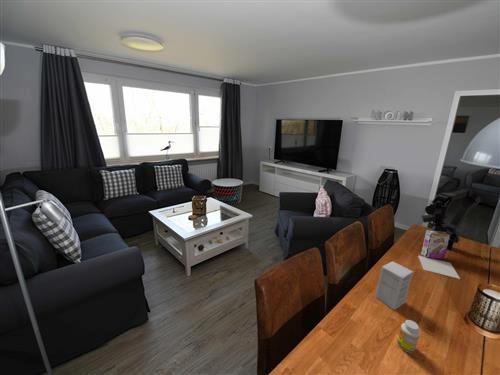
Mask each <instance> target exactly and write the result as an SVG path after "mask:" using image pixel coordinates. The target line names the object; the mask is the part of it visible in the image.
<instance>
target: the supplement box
mask: <svg viewBox="0 0 500 375" xmlns="http://www.w3.org/2000/svg"><path fill="white" fill-rule="evenodd" d="M413 275H414V271H413V270H410V269H408V268H407V267H405V266H403V265H401V264H399V263H397V262H395V261H390V262H388V263H386V264H384V265H383V266H382V265H381V269H380V273H379V276H378V282H377V287H376V290H375V294H374V295H375V296H374V297H375V298H376V299H378V301H380V302H382V303H383V304H385V305H387V306H388V307H390V308H391V309H392V310H394V311H396V310H397V309H399V308H400V307H401V306H403V305H404V304H405V303H406V301H407V298H408V294H409V289H410V285H411V281H412V278H413Z"/></svg>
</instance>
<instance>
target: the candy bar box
mask: <svg viewBox="0 0 500 375" xmlns="http://www.w3.org/2000/svg"><path fill="white" fill-rule="evenodd" d="M449 238H450V234H448V233H446V232H440V231H432V230H428V229H426V231H425V235H424V239H423V243H422V248H421V252H420V253H421V256H422V257H426V258H431V259H436V260H438V259H439V260H445V258H446V253H447V250H448V249H447V246H448V242H449Z"/></svg>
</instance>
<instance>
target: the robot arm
mask: <svg viewBox="0 0 500 375" xmlns="http://www.w3.org/2000/svg"><path fill="white" fill-rule="evenodd" d="M458 199H459V200H460V206H459V208H458V209H457V211H456V213H455V215H454V216H453V218H452V220H451V221H450V222H449V224H446V223H445V220H446V219H447V214H448V209H449V208H451V204H453V203H454V202H455V201H456V200H458ZM481 200H482V198H481V197H480V195H479V194H477V193H475V192H474V191H473V190H471V189H469V188H468V189H467V188H463V187H462V188H461V189H459V190H455V191H452V192H439V193H438V194H437V195H436V196H435V197H434V198H433V200H431V203H430V204H429V205H427V206H426V207H425V208H424V211H425V212H424V213H426V215H421V220H422V223H429V225H430V227H431V229H432V230H431V231H440V232H446V233H448V234H450V238H449V242H448V246H447V250H449V251H455V249H454V244H455V243H456V244H458V243H459V242H460V241H461V240H460V239H461V238H460V236H459V234H460V230H459V227H460V226H461V225H462V223H463V221H465V220H464V219H465V218H466V217H467V215H468V213H469V212H470V211H471V209H473V208H476V207H477V206H478V204H479V203H481Z"/></svg>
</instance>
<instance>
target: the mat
mask: <svg viewBox="0 0 500 375" xmlns="http://www.w3.org/2000/svg"><path fill="white" fill-rule="evenodd" d="M417 257H418V259H419V261H420V264H421V266H422V269H423V270H424V271H426V272H428V273H429V272H430V273H433V274H438V275H441V276H445V277H450V278H453V279H457V280H461V277H460V276H459V274H458V273H457V271H456V270H455V267H454V265H452V263H451V262H448V261H444V260H441V259H439V260H438V259H436V258H426V257H424V256H423V255H418V256H417Z"/></svg>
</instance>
